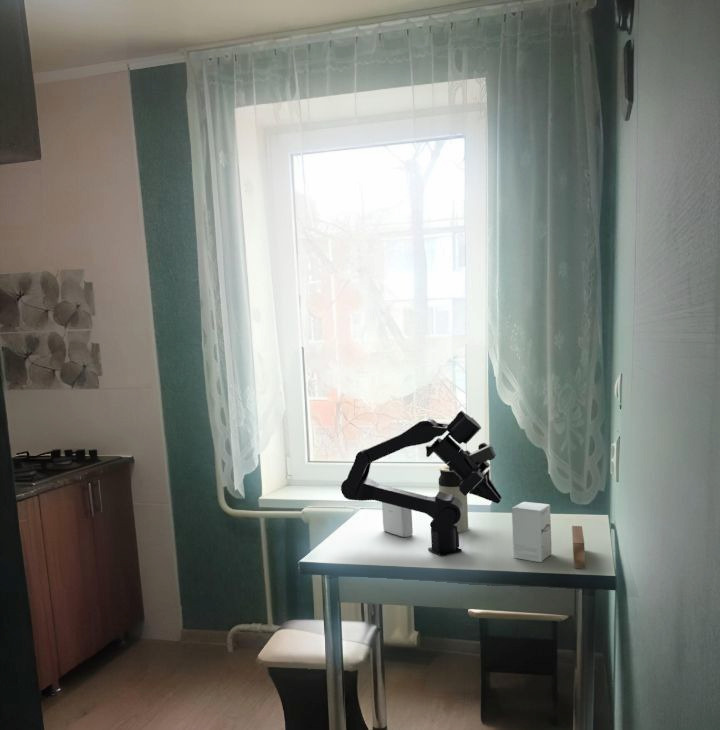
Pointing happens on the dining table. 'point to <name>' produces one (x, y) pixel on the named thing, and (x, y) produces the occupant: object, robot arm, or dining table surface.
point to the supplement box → (531, 531)
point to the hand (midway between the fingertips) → (499, 500)
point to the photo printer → (397, 520)
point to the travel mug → (451, 486)
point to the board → (578, 547)
